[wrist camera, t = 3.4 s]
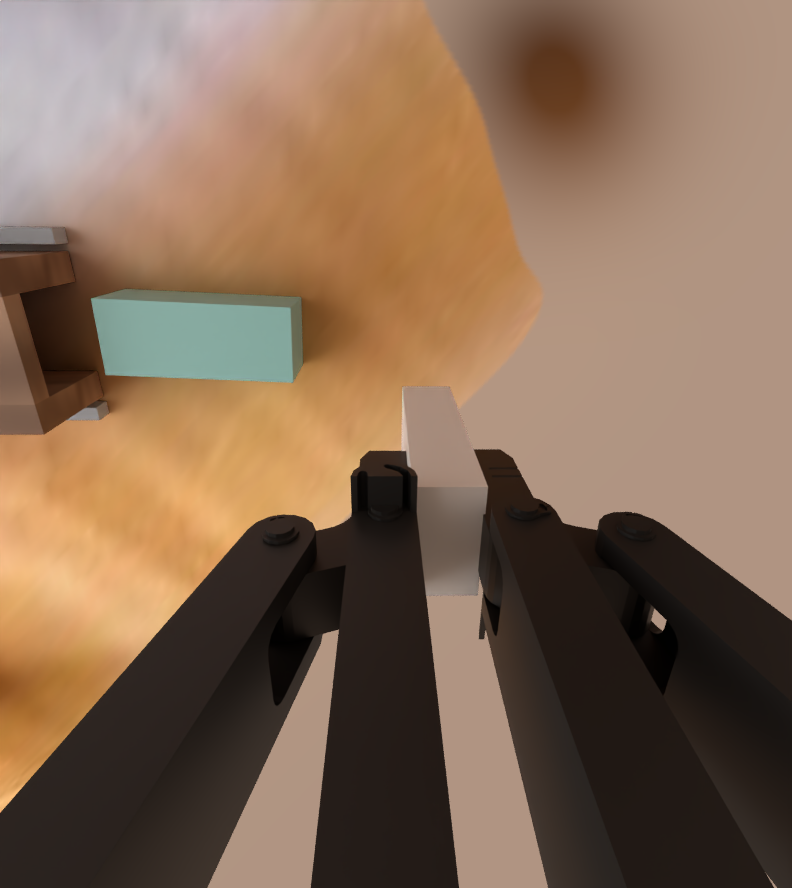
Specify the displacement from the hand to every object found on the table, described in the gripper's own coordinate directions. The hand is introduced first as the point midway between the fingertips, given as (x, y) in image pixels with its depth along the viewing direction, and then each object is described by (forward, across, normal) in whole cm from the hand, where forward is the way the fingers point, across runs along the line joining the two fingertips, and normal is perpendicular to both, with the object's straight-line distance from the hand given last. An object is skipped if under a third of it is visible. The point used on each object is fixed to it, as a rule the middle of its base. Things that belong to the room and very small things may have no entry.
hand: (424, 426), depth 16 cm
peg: (+15, -11, 0) cm, 19 cm away
